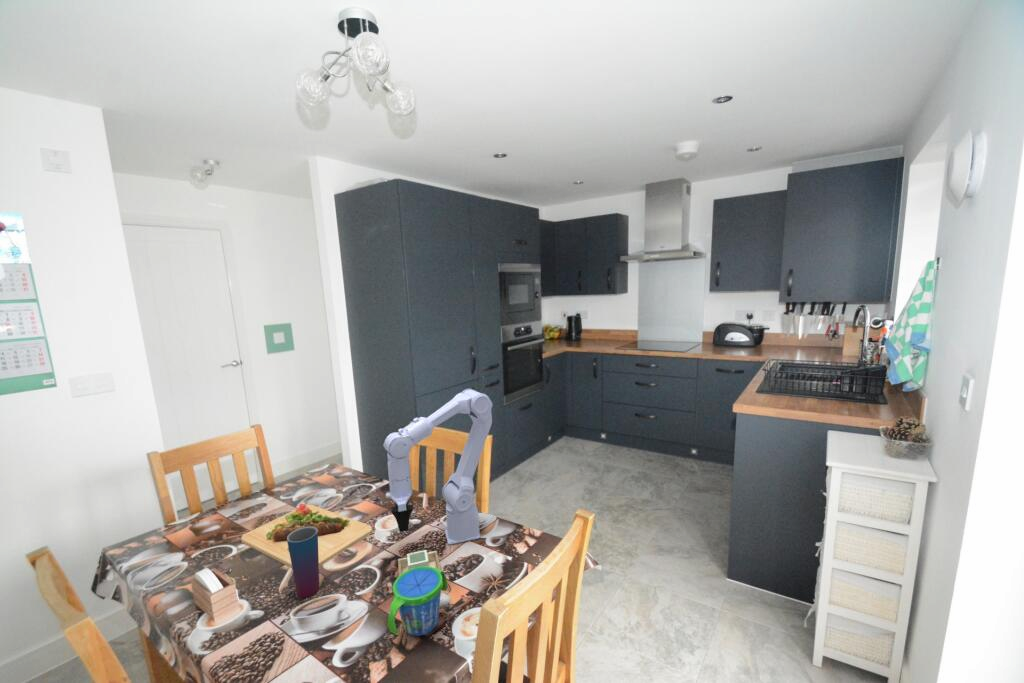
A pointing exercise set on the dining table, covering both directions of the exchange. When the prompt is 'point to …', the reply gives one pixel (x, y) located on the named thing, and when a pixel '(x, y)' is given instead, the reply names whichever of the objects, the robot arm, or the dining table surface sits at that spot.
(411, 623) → the snack cup
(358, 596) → the dining table surface
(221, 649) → the dining table surface
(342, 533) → the cutting board
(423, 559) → the small crate
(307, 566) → the cup
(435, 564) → the beige wooden tray
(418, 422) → the robot arm
